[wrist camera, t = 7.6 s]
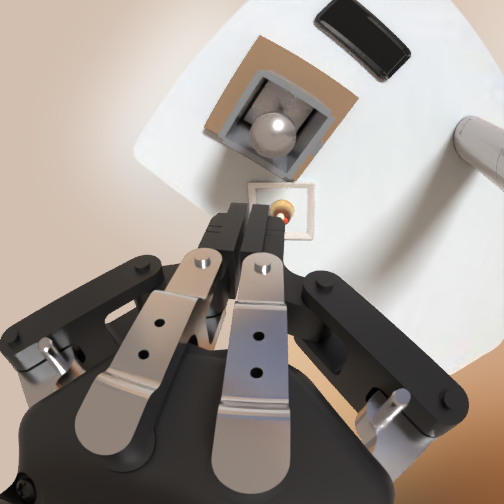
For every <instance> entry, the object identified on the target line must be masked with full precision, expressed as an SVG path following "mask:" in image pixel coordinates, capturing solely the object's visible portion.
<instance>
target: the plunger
mask: <svg viewBox="0 0 504 504" xmlns="http://www.w3.org/2000/svg"><path fill="white" fill-rule="evenodd" d="M313 108H314V107H312V106H311V105H309V104H307V103H306V102H304V101H303V100H301V99H300V98H298V97H297V96H295V95H293V94H292V93H290V92H289V91H287V90H285V89H284V88H282V87H280V86H279V85H277V84H275V83H274V82H272V81H270V80H269V81H268V82H267V84H266V85H265V87H264V88H263V90H262V91H261V93H260V94H259V96H258V98H257V99H256V101H255V102H254V104H253V105H252V107H251V108H250V110H249V112H248V113H247V115H246V116H245V118H244V120H245V121H247V122H249V123H250V124H252V127H251V129H250V133H249V139H250V143H251V145H252V147H253V148H254V150H255V151H256V152H257V153H258V154H260V155H262V156H264V157H267V158H280V157H283V156H285V155H287V154H288V153H289V152H290V151H291V150H292V149H293V147H294V145H295V142H296V132H297V131H298V129H299V128H300V127H301V125H302V124H303V122H304V121H305V120H306V118H307V117H308V115H309V114H310V113H311V111H312V110H313Z"/></svg>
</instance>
